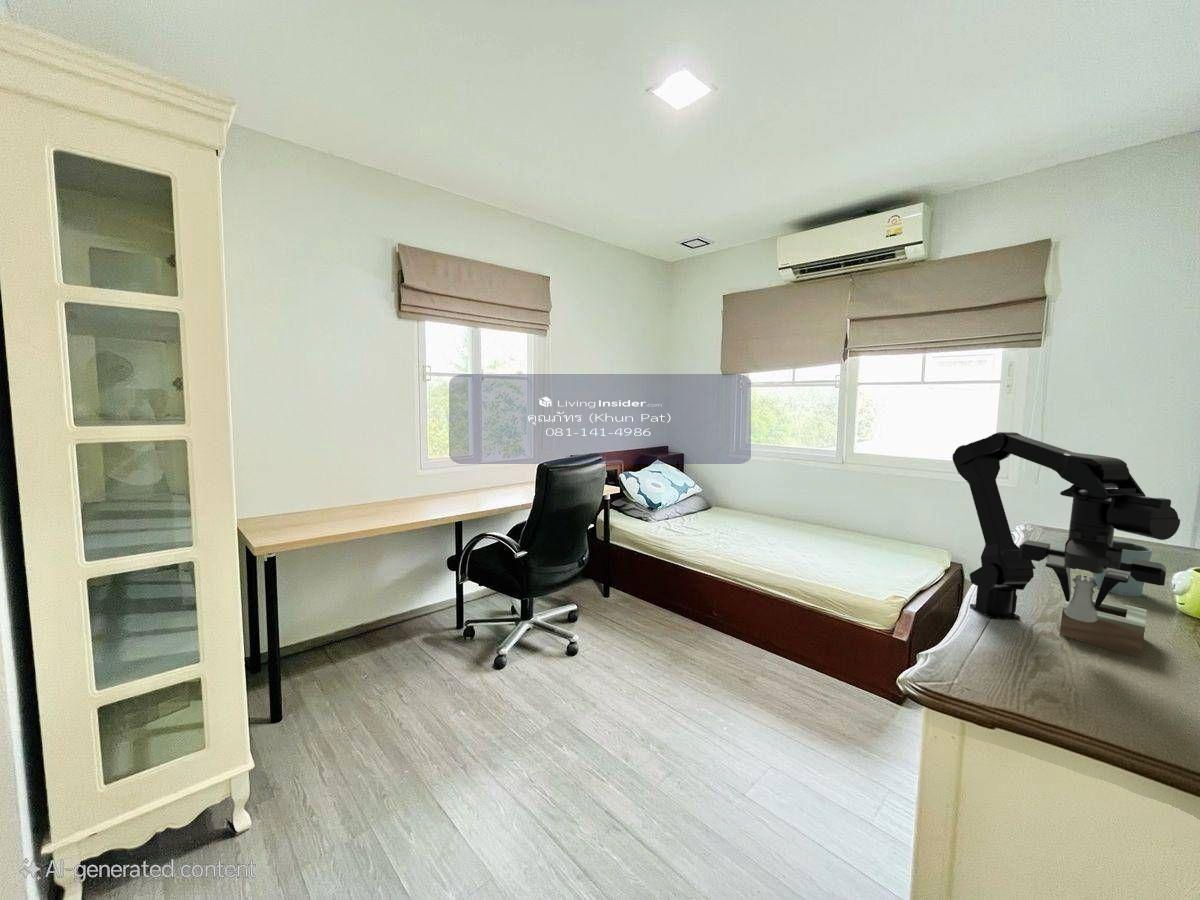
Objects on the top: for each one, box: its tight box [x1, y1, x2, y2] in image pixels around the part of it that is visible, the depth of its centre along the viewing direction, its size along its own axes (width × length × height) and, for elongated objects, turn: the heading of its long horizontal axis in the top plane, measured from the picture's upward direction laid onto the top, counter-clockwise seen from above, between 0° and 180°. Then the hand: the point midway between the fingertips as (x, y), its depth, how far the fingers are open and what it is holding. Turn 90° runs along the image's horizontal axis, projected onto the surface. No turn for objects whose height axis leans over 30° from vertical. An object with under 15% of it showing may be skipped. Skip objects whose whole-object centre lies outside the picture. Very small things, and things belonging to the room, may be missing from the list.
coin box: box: [1059, 592, 1147, 658], centre depth 95 cm, size 12×11×6 cm
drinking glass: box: [1092, 539, 1153, 597], centre depth 120 cm, size 10×10×12 cm
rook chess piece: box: [1064, 574, 1097, 622], centre depth 88 cm, size 4×4×8 cm
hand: (1081, 604), depth 88 cm, fingers closed on rook chess piece, 3 cm apart
